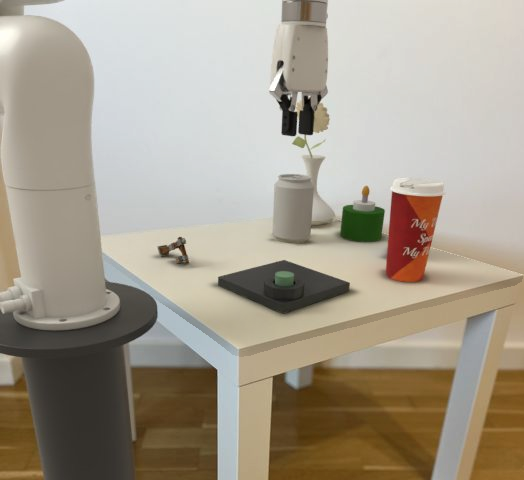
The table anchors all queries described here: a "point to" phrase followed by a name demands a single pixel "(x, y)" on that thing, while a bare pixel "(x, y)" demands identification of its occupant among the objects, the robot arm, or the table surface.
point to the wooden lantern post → (179, 244)
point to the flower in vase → (316, 165)
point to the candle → (362, 220)
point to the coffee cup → (412, 226)
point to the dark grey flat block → (283, 297)
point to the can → (293, 208)
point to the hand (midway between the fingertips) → (297, 133)
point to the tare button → (284, 278)
